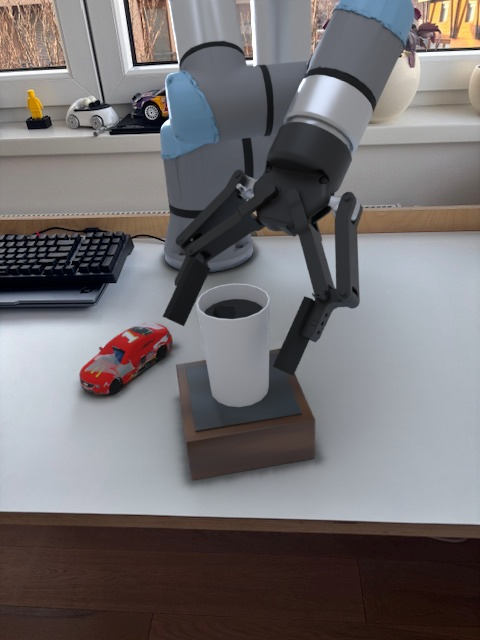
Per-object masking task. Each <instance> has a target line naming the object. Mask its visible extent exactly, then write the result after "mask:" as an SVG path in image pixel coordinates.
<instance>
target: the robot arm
mask: <svg viewBox="0 0 480 640" xmlns="http://www.w3.org/2000/svg"><path fill="white" fill-rule="evenodd" d="M168 6H169V13H170V18H171V19H170V20H171V25H172V31H173V39H174V42H175V43H174V44H175V51H176V56H177V62H178V63H177V64H178V68H179V70H178V71H177V72H171V73H169V74H167V75H166V77H165V81H164V85H165V97H166V104H167V111H168V119H167V120H166V121H165V122H164V123H163V124H162V125H161V128H160V131H159V137H160V148H161V149H160V158H161V159H162V160H163V168H164V170H163V171H164V176H165V177H164V178H165V186H166V193H167V201H168V208H169V219H168V224H167V228H166V232H165V233H166V234H165V239H164V245H163V252H164V258H165V261H166V263H167V264H168V265H169V266H170V267H173V268H174V269H177V270H178V272H177V275H176V277H175V279H174V283H173V285H174V286H175V289H174V291H173V293H172V295H171V297H170V300H169V302H168V304H167V306H166V308H165V310H164V312H163V314H162V318H165V319H167V320H169V321H171V322H173V323H176V324H178V325H180V326H182V327H185V325H186V323H187V321H188V318H189V316H190V314H191V312H192V311H193V308H194V305H195V304H196V302H197V300H198V298H199V296H200V293H201V291H202V290H203V289H202V288H203V286H204V284H205V282H206V280H207V278H208V275H209V274H210V273H215V272H221V271H225V270H229V269H232V268H235V267H238V266H240V265H242V264H243V263H245V262H247V261H248V260H249V259H250V258H251V257H252V255H253V253H254V240H253V237H252V235H251V233H253V232H259V231H261V230H263V229H265V228H267V229H268V230H269V231H272V232H283V233H285V234H286V235H288V236H291V237H296V236H297V235H298V238H299V241H300V245H301V249H302V253H303V257H304V260H305V264H306V269H307V272H308V275H309V279H310V284H311V287H312V290H313V292H312V293H311V295H312V297H314V299H313V298H311V297H309V296H305V295H304V296H303V299H302V300H301V302H300V305H299V307H298V310H297V311H296V314H295V316H294V318H293V321H292V322H291V325H290V327H289V329H288V332H287V334H286V335H285V337H284V341H283V342H282V345H281V347H280V348H279V349H280V351H279V354H278V356H277V358H276V360H275V362H274V365H273V367H275V368H277V369H279V370H282V371H284V372H286V373H288V374H290V375H292V376H294V374H295V375H296V372H297V369H298V368H299V365H300V362H301V361H302V358H303V356H304V354H305V351H306V349H307V347H308V345H309V342H313V343H317V342H318V341H319V340H320V339H321V338H322V334H323V332H324V330H325V327H326V326H327V323H328V321H329V319H330V317H331V315H332V313H333V312H334V310H336V309H338V308H348V309H352V310H353V309H356V308H357V307H359V305H360V302H361V298H360V297H361V296H360V295H361V294H360V273H359V272H360V271H359V242H358V227H359V224H360V220H361V217H362V214H363V212H364V208H363V205H362V204H361V203H360V201H359V200H358V198H357V197H356V195H355V194H354V193H353V192H352V191H346V192H343V194H342V195H341V196H340V195H336V193H337V192H338V191H339V190H340V188H341V186H342V184H343V181H344V179H345V177H346V176H347V175H346V174H347V172H348V170H349V169H350V166H351V164H352V161H353V155H354V154H355V153H356V151H357V149H358V147H359V145H360V143H361V141H362V139H363V136H364V134H365V132H366V131H367V128H368V125H369V124H370V121H371V119H372V117H373V114H374V112H375V111H376V110H375V109H376V107H377V105H378V103H379V101H380V98H381V96H382V94H383V91H384V90H385V88H386V85H387V83H388V81H389V79H390V77H391V75H392V73H393V70H394V68H395V66H396V64H397V62H398V60H399V57H400V55H401V54H402V51H403V50H404V49H405V48H406V47H407V41H408V37H409V34H410V32H411V29H412V27H413V24H414V21H415V7H414V4H413V1H412V0H338V2H337V4H336V5H335V6H334V8H333V10H332V12H331V16H330V19H329V21H328V22H327V25H326V27H325V29H324V31H323V33H322V35H321V37H320V39H319V41H318V43H317V45H316V47H315V49H314V51H313V53H312V0H250V13H251V15H250V16H251V31H252V32H251V33H252V51H253V52H252V54H253V55H252V56H253V65H248V64H247V62H246V55H245V54H246V51H245V46H244V40H243V35H242V29H241V23H240V18H239V17H240V16H239V12H238V6H237V0H168ZM255 212H256V215H255V214H254V213H255ZM330 213H331V215H332V217H333V218H334V251H335V252H334V253H335V255H334V257H335V284H334V281H333V277H332V274H331V269H330V267H329V263H328V259H327V256H326V252H325V250H324V245H323V242H322V241H323V237H322V234H321V230H320V226H319V224H318V222H320V221H321V220H322V219H323V218H325V217H326V216H327V215H329V214H330Z"/></svg>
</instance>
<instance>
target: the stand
mask: <svg viewBox="0 0 480 640" xmlns="http://www.w3.org/2000/svg"><path fill="white" fill-rule="evenodd" d="M280 349H281V348H275V349H269V388H268V392H267V394H266V395H265V396H264V398H263V399H262V400H261V401H258V402H256V403H254V404H252V405H249V406H243V407H233V406H227V405H224V404H222V403H219V402H218V401H217V400H216V399H215V398H214V397H213V396H212V392H211V386H210V381H209V375H208V369H207V363H206V359H203V360H196V361H189V362H184V363H183V362H182V363H177V364H175V367H176V368H175V369H176V377H177V384H178V393H179V400H180V401H179V402H180V408H181V416H182V424H183V433H184V440H185V447H186V453H187V454H186V455H187V460H188V466H189V467H188V468H189V473H190V480H191V481H195V480H201V479H206V478H212V477H218V476H224V475H228V474H234V473H240V472H246V471H251V470H258V469H262V468H268V467H274V466H280V465H285V464H291V463H296V462H297V463H298V462H303V461H308V460H314V459H315V457H316V454H315V453H316V418H315V416H314V414H313V411H312V409H311V407H310V405H309V402H308V400H307V398H306V396H305V392H304V390H303V388H302V386H301V384H300V382H299V380H298V377H297V374H296V373H295V374H294V376H292V375H290V374H288V373H286V372H284V371H282V370H279V369H277V368H275V367H273V365H274V362H275V360H276V358H277V356H278V354H279V351H280Z"/></svg>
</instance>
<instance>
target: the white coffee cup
mask: <svg viewBox="0 0 480 640" xmlns="http://www.w3.org/2000/svg"><path fill="white" fill-rule="evenodd" d="M195 304H196V310H197V315H198V316H197V317H198V322H199V327H200V333H201V339H202V345H203V351H204V357H205V360H206V363H207V369H208V375H209V381H210V386H211V392H212V396H213V397H214V398H215V399H216V400H217V401H218V402H219V403H222V404H224V405H227V406H233V407H243V406H249V405H252V404H254V403H256V402H258V401H261V400H262V399H263V398H264V396H265V395H266V394H267V392H268V388H269V350H270V329H271V328H270V327H271V326H270V319H271V318H270V317H271V299H270V296H269V294H268V292H267V291H266V290H264V289H263V288H260V287H259V286H257V285H256V286H255V285H253V284H248V283H227V284H221V285H217V286H215V287H214V286H213V287H212V288H209V289H207V290H206V291H204V292H203V293H201V294H199V295H198V297H197V299H196V302H195Z"/></svg>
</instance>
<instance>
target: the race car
mask: <svg viewBox="0 0 480 640" xmlns="http://www.w3.org/2000/svg"><path fill="white" fill-rule="evenodd" d="M173 344H174V342H173V335H172V334H171V332H170V330H169V328H168V327H166V326H165V325H163V324H159V323H157V322H153V321H151V322H150V321H149V322H148V321H147V322H144V323H141V324H137V325H134V326H132V327H130V328H128V329H125V330H124V331H121V332H120V333H119V334H117V335H115V336H114V337H113V338H112V339H110V340H109V341H108V342H107V343H106V344H105V345H104V346H103V347H102V346H99V348H98V349H99V352H98V353H97V354H96V355H95V356H93V357H92V358H91V359H90V360H89V361H88V362H86V364H84V365H83V366H82V367H81V369H80V371H79V374H78V375H79V382H80V386H81V388H82V390H84V392H87V393H89V394H92V395H109V394H118V393H119V392H120V391H121V389H122V387H123V385H126V384H127V383H129V382H130V381H131V380H133V379H134V378H135V377H136V376H138V375H139V374H141V373H142V372H143V371H144V370H146V369H147V368H148V367H150V366H151V365H153V364H154V363H155V362H156V361H158V360H160V361H161V360H163V359H164V358H165V357H166V355H167V352H169V351H170V350H171V349H172V347H173Z"/></svg>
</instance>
